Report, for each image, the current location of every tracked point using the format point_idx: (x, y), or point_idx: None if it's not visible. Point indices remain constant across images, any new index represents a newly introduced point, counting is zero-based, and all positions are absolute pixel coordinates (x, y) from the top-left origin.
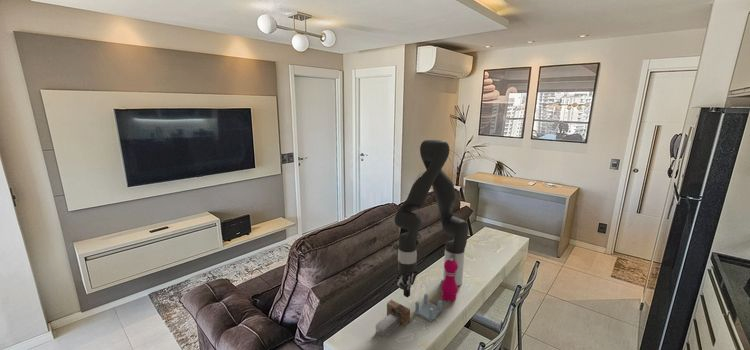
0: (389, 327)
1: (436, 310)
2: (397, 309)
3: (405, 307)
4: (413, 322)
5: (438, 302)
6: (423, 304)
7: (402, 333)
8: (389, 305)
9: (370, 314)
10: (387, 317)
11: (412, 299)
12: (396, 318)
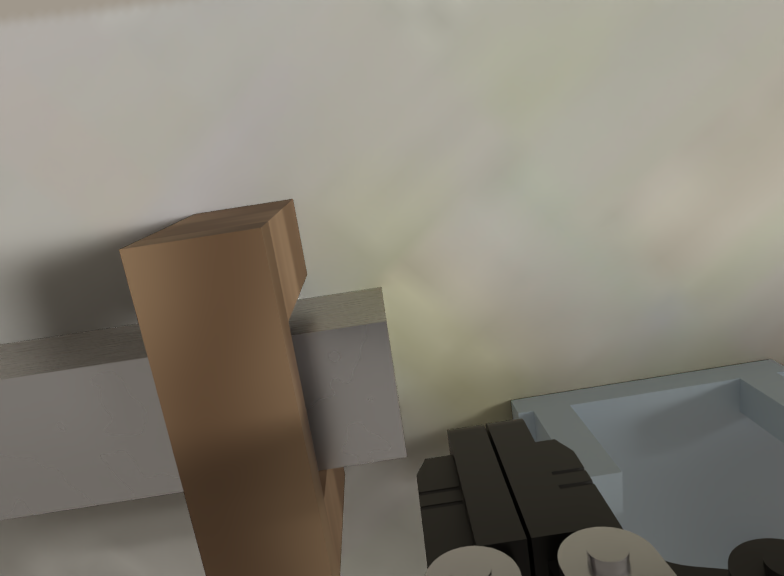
0: None
1: (714, 561)
2: (183, 468)
3: (309, 534)
4: (375, 498)
5: None
6: (705, 400)
7: (153, 539)
8: (142, 303)
9: (14, 35)
10: (23, 401)
11: (717, 195)
12: (125, 490)
